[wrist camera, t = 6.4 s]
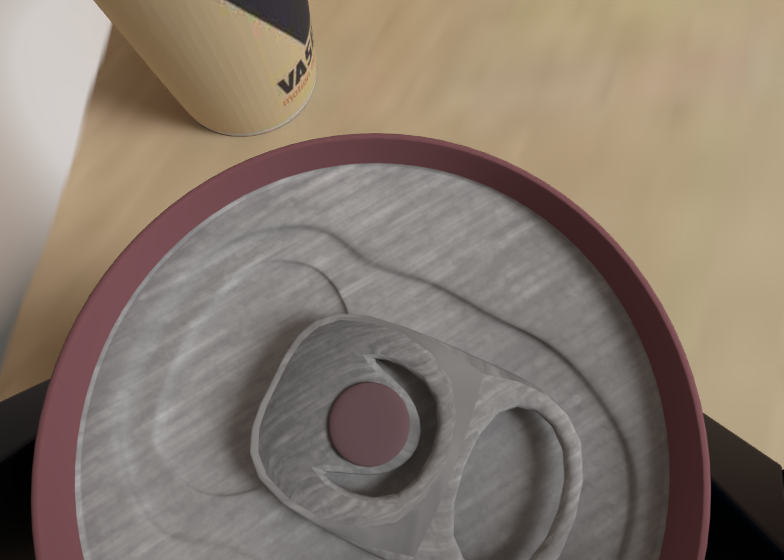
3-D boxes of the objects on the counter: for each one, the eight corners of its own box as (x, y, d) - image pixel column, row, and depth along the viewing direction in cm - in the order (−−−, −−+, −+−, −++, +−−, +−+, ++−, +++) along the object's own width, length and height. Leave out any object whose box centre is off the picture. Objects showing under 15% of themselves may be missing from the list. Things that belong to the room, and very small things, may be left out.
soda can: (246, 482, 15) (-244, 671, 4) (341, 287, 17) (214, -2, 5) (451, 584, 14) (671, 1265, 3) (528, 367, 16) (858, 224, 4)
